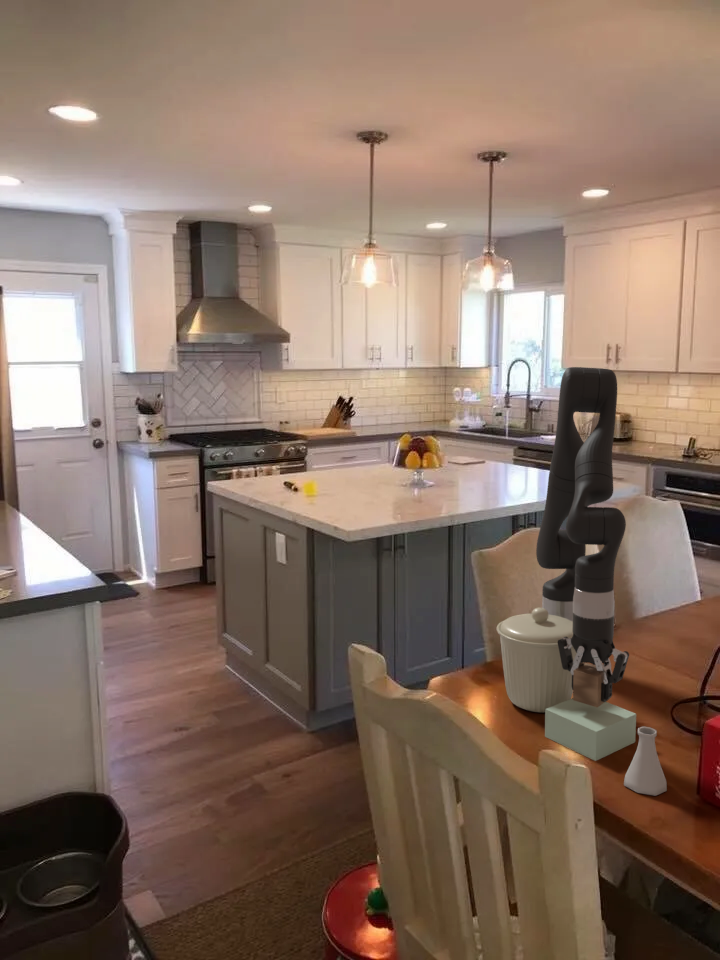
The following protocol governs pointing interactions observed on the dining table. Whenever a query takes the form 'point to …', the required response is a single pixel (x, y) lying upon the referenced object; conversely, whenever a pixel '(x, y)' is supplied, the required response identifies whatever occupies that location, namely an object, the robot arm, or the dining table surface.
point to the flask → (646, 766)
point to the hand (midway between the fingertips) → (591, 696)
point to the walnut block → (587, 685)
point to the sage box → (590, 727)
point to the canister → (535, 659)
